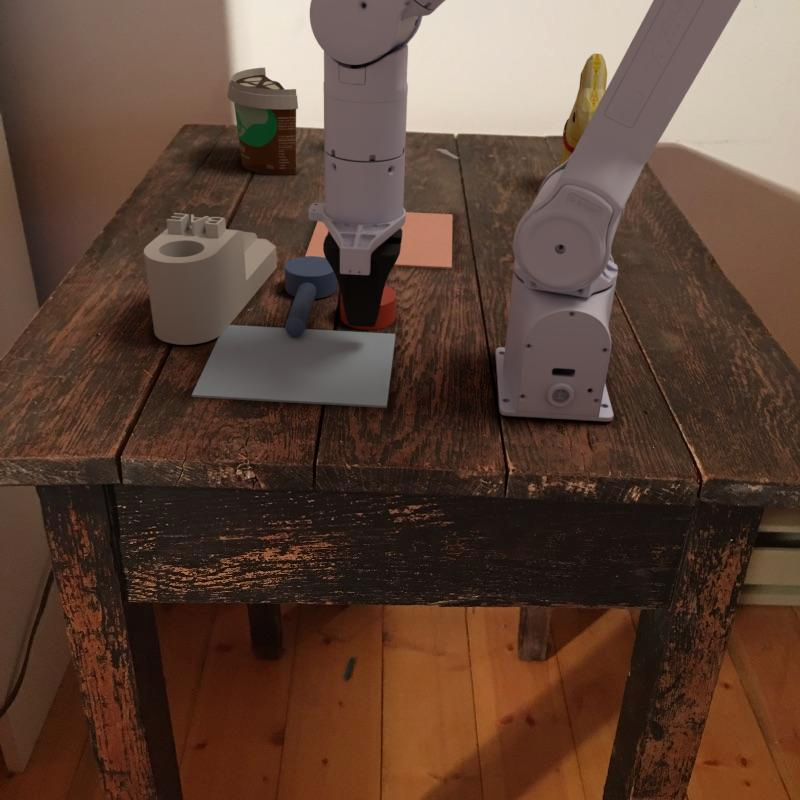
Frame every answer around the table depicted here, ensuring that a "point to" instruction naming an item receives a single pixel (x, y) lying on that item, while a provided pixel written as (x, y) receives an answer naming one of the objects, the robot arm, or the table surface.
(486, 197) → the table surface
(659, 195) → the table surface
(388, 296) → the red spoon
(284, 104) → the food container
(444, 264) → the rose mat
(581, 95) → the chocolate bunny
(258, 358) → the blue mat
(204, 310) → the grey lettered holder
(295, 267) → the blue spoon
